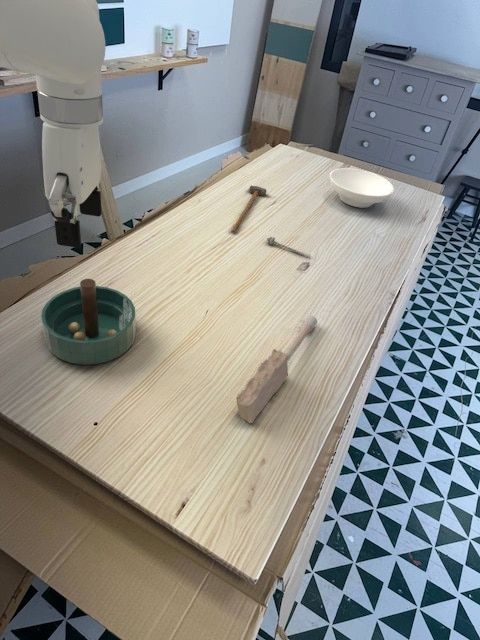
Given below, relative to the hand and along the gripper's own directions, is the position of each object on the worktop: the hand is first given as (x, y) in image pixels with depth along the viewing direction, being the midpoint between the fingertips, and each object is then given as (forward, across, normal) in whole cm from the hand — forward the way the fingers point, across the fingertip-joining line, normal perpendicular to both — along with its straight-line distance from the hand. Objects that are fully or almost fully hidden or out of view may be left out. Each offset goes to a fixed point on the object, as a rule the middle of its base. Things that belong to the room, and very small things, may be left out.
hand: (80, 229), depth 69 cm
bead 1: (+20, 0, -3) cm, 20 cm away
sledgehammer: (+21, -58, +25) cm, 67 cm away
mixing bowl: (+22, -1, 0) cm, 22 cm away
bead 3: (+20, 0, +4) cm, 21 cm away
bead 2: (+20, +2, -1) cm, 20 cm away
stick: (+21, -1, 0) cm, 21 cm away
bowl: (+20, -76, +58) cm, 98 cm away
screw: (+21, -41, +36) cm, 59 cm away
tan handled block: (+22, 0, +34) cm, 40 cm away
